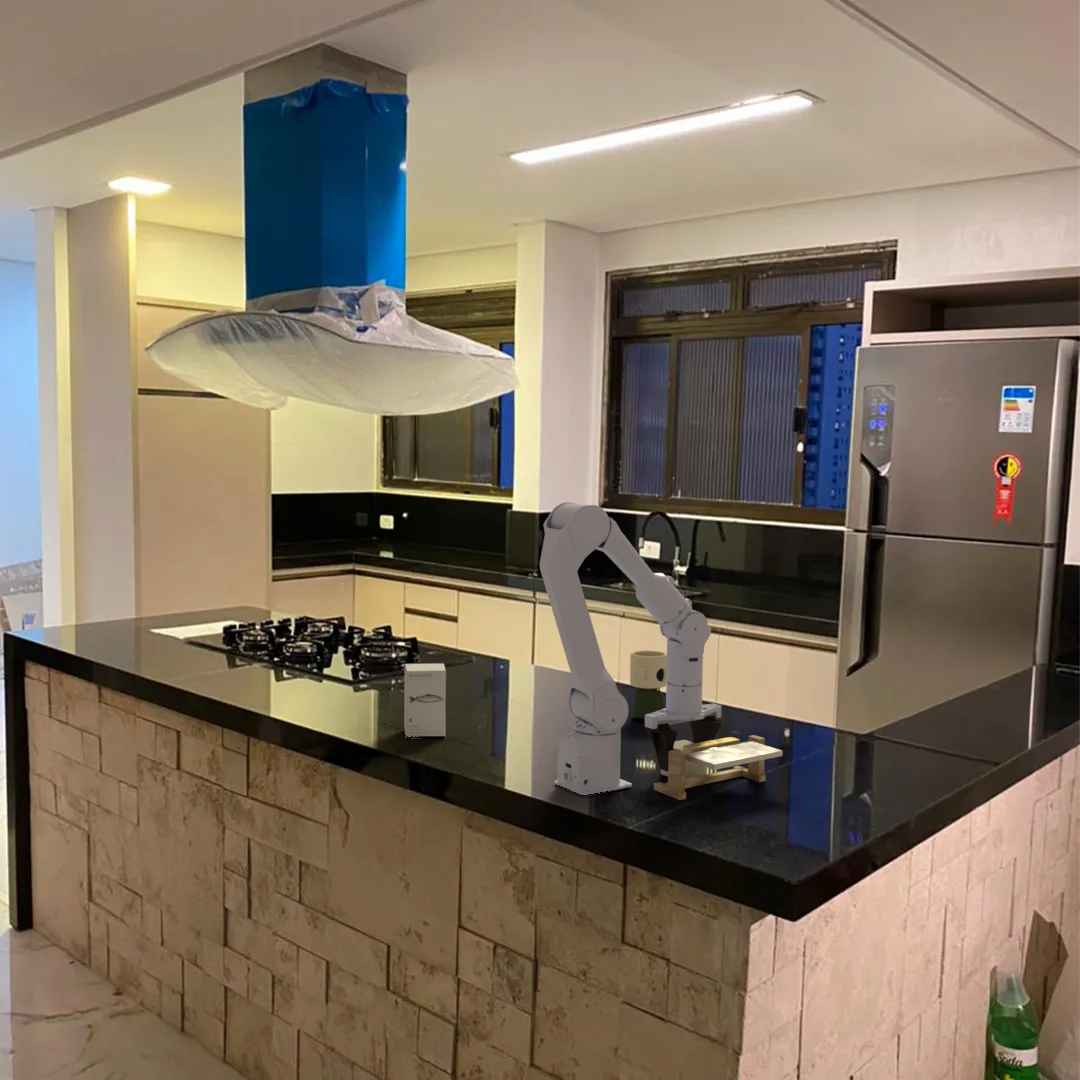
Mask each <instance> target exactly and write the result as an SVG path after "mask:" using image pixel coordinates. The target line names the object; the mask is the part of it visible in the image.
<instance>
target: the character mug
mask: <svg viewBox="0 0 1080 1080" xmlns="http://www.w3.org/2000/svg"><path fill="white" fill-rule="evenodd" d="M629 671H630V672H629V673H630V674H629V676H630V677H629V683H630V685H631V686H632V687H635V688H636V689H635V692H634V693H633V701H632V710H631V716H632V718H636V719H637V718H638V719H644V721H645V715H646V714H650V713H654V712H656V711H659V710H662V709H665V707H664V701H663V694H662V692H661V688H664V687H666V681H667V652H663V651H658V650H635V651H632V652H630V667H629Z"/></svg>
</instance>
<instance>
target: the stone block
mask: <svg viewBox="0 0 1080 1080" xmlns="http://www.w3.org/2000/svg"><path fill="white" fill-rule="evenodd" d="M689 744H695V743H693V741H690V740H687V739H681V740H675V742H674V747H673V750H676V751H679V752H682V753H683V746H684V745H689ZM660 774H661V775H662V776H666V777H668V772H667V771H664V770H661V769H660ZM702 775H706V767H705V766H702V765H699V764H696V763H693V762H691V761H688V760H685V779H688V778H693V777H697V776H702Z"/></svg>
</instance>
